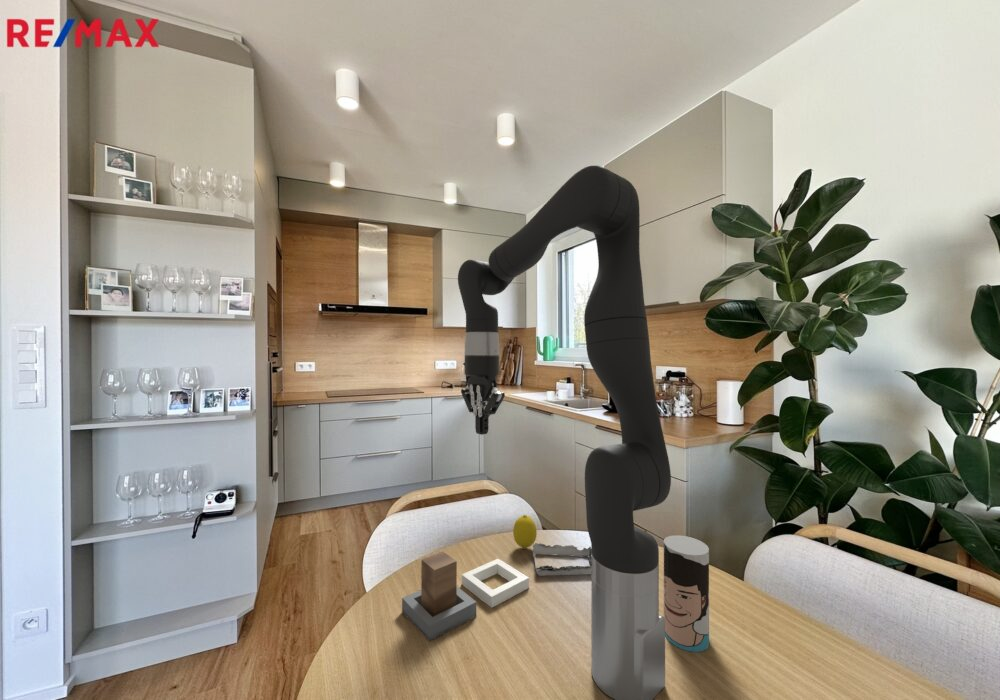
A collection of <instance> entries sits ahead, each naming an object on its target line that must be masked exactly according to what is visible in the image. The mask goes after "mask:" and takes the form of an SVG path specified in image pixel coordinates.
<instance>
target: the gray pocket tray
mask: <svg viewBox="0 0 1000 700" xmlns="http://www.w3.org/2000/svg"><path fill="white" fill-rule="evenodd" d="M401 613H402V614H404V616H405V617H406V618H407V619H408V620H409V621H410V622H411V623H412V624H413V626H414V627H415V628H416V629H417V630H418V631H419V632H420V633H421V634H422V636H423V637H424V638H426V640H427V641H428V642H431V641H433V640H435V639H436V638H438V637H440V636H443V635H444V634H446V633H447V632H449V631H451V630H453V629H455V628H457V627H459V626H461V625H462V624H463V625H464V624H465V623H466V622H468V621H470V620H472V619H473V618H475V617H477V601H476V600H475V599H473V597H471V596H470V595H468V593H466V592H465V591H464V590H462V589H460V587H458V586H457V605H456V606H454V607H452V608H450V609H448V610H446V611H444V612H442V613H440V614H438V615H436V616H434V617H432V616H431V615H430V614H429V613H428V612H427V611H426V610H425V609H424V608H423V607H422V606H421V589H419V590H418V591H415V592H413V593H411V594H408V595H405V596H404V597H402V598H401Z"/></svg>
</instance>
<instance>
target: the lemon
mask: <svg viewBox="0 0 1000 700" xmlns="http://www.w3.org/2000/svg"><path fill="white" fill-rule="evenodd" d="M512 531H513V534H512V535H513V539H514V541H515V543H516V545H518V546H519V547H521V548H523V550H527V548H530V547H531V546H533V545H534V544H535V543H536V542H535V541H536V539H537V535H538V534H537V525H536V522H535V520H533V518H532V517H531V516H528V515H526V514H523V515H521V516H519V517H518V518H517V519H516V520H515V522H514V525H513V530H512Z"/></svg>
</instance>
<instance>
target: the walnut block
mask: <svg viewBox="0 0 1000 700" xmlns="http://www.w3.org/2000/svg"><path fill="white" fill-rule="evenodd" d="M457 562H458V561H457V560H456V559H454V558H453V557H452V556H450V555H449V554H447V553H446V552H445V551H441V552H438V553H435V554H432V555H429V556H427V557H424V558H422V559H421V565H420V566H421V571H420V572H421V577H420V578H421V581H420V582H421V584H420V585H421V586H420V588H421V589H420V590H421V606H422V607H423V608H424V609H425V610H426V611H427V612H428V613H429V614H430V615H431V616H432V617H434V616H436V615H438V614H440V613H442V612H444V611H446V610H448V609H450V608H452V607H454V606H456V605H457V587H458V585H457V582H458V581H457V567H458V566H457Z"/></svg>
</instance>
